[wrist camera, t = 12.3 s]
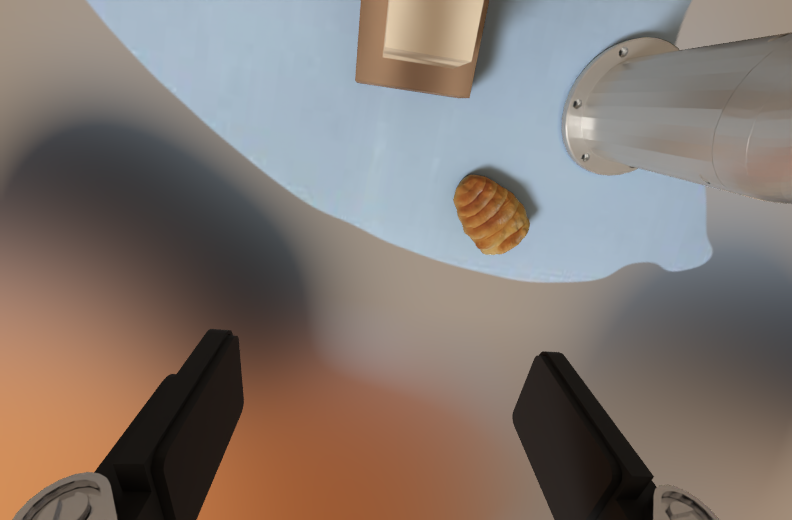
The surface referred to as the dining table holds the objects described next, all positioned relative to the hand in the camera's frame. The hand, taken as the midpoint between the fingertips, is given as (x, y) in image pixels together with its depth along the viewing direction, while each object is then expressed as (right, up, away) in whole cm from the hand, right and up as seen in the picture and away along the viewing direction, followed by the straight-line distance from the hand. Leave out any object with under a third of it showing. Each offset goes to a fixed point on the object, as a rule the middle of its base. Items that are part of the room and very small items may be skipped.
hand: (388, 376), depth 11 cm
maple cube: (+3, +23, +16) cm, 28 cm away
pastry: (+11, +9, +28) cm, 32 cm away
